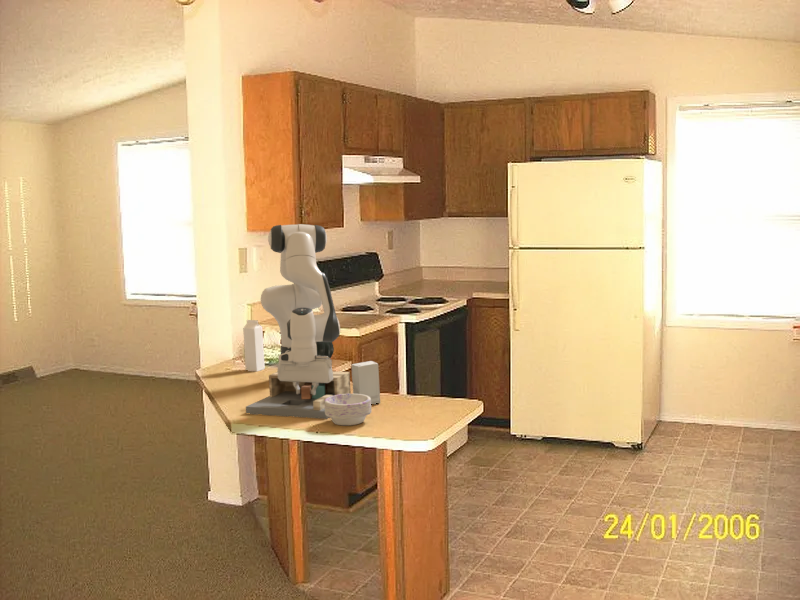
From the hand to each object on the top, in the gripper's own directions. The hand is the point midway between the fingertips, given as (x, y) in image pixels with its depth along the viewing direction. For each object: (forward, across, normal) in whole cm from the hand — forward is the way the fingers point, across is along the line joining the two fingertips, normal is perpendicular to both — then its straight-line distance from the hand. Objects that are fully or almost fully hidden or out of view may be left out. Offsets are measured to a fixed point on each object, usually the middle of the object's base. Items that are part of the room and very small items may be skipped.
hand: (306, 394), depth 299 cm
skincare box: (+6, -17, -13) cm, 22 cm away
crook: (+2, 0, -6) cm, 7 cm away
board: (+5, +3, -4) cm, 7 cm away
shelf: (+3, +4, -11) cm, 12 cm away
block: (+3, 0, -9) cm, 10 cm away
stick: (+3, -8, +3) cm, 9 cm away
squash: (+5, +38, -84) cm, 92 cm away
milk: (+5, +57, -61) cm, 83 cm away
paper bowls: (+6, -21, +11) cm, 25 cm away
